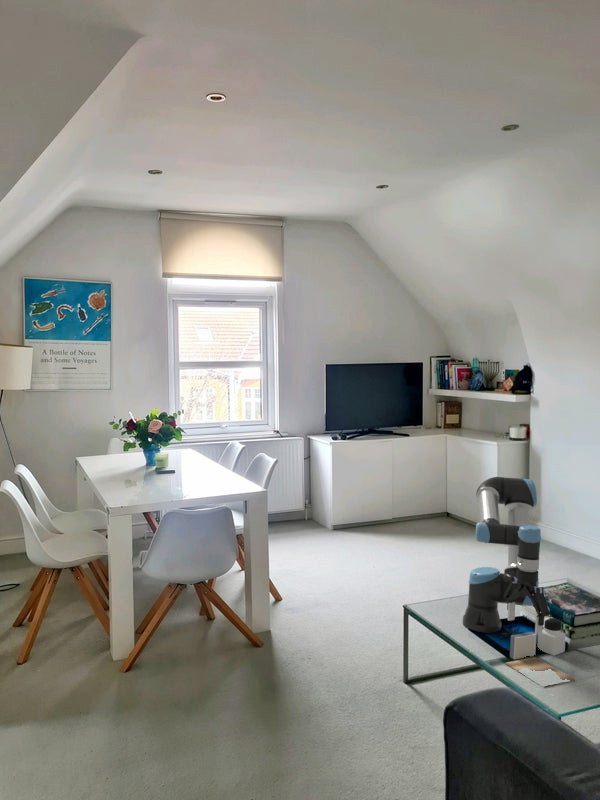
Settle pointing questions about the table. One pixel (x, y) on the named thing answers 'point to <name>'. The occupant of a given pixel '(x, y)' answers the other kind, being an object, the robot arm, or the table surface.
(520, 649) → the tile
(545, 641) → the medicine bottle
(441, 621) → the table surface
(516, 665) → the mat
